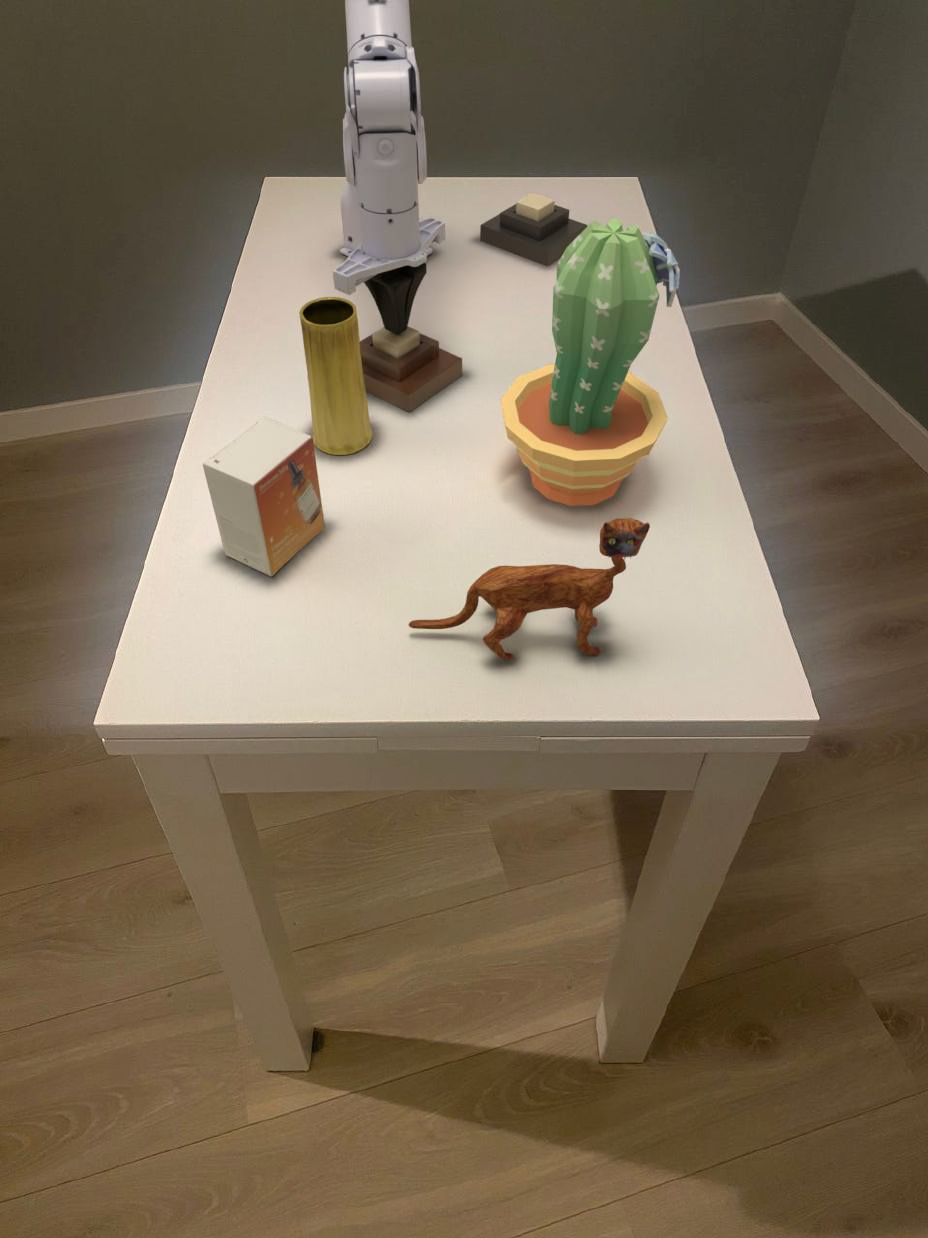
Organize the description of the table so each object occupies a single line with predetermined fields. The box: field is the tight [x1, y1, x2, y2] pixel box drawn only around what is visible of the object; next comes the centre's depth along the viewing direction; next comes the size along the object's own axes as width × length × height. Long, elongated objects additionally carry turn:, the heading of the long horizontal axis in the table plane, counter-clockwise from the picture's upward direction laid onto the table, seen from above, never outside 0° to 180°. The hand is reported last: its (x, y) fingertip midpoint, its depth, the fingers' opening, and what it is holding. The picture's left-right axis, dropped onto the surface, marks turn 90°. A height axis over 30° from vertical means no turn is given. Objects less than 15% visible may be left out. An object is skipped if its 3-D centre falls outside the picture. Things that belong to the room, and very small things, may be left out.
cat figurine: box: [408, 517, 651, 660], centre depth 73 cm, size 18×7×14 cm, turn 89°
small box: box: [202, 416, 326, 577], centre depth 82 cm, size 8×6×10 cm
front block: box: [359, 332, 463, 414], centre depth 102 cm, size 11×9×4 cm
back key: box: [515, 192, 556, 222], centre depth 121 cm, size 4×4×2 cm
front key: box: [371, 325, 421, 359], centre depth 100 cm, size 4×4×2 cm
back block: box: [479, 203, 589, 267], centre depth 123 cm, size 11×9×4 cm
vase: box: [299, 296, 373, 456], centre depth 90 cm, size 6×6×14 cm
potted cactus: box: [500, 217, 681, 507], centre depth 83 cm, size 15×15×25 cm
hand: (395, 329), depth 99 cm, fingers closed
